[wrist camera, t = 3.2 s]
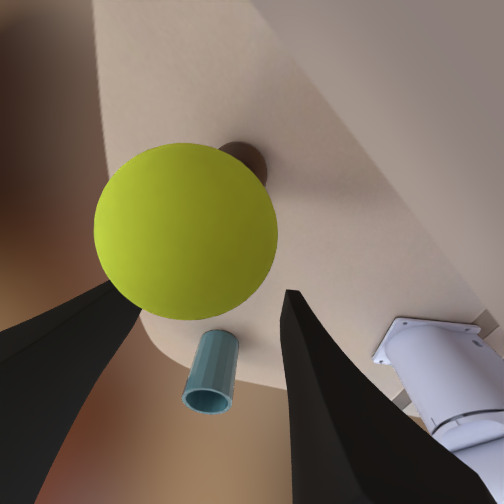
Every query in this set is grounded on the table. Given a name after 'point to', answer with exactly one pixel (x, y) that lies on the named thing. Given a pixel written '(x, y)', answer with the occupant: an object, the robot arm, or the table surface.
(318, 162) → the table surface
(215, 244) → the ball
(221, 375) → the tumbler
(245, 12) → the table surface
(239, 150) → the stand
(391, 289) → the table surface
